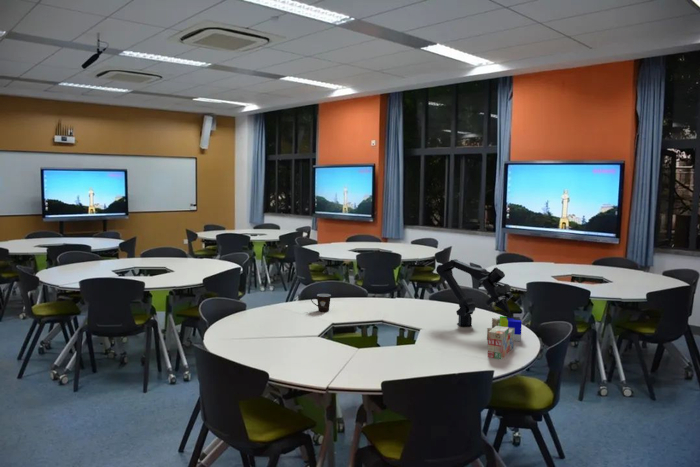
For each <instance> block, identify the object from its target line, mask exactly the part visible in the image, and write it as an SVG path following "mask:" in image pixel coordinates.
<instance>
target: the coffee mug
mask: <svg viewBox="0 0 700 467" xmlns="http://www.w3.org/2000/svg"><path fill="white" fill-rule="evenodd" d="M331 297H332V295H331V294H329V293H318V294H316V296H312V297H310V298H311V299H310V301H311V302H312V304H313V305H315V306H316V307H317V308H318V312H319V313H328V312H329V311H330V305H331ZM313 299H316V301H317V304H316V303H315V302H314V301H313Z"/></svg>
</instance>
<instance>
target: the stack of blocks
mask: <svg viewBox="0 0 700 467" xmlns="http://www.w3.org/2000/svg"><path fill="white" fill-rule="evenodd" d="M513 348H514V340H513V329H509V327H502V326H495V327H494V328H493V329H492V330H490V331H489V335H488V340H487V358H491V359H497V360H502V359H503V358H505V356H506V355H507V354H508V353H509V352H510V351H511V350H512V349H513Z"/></svg>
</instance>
